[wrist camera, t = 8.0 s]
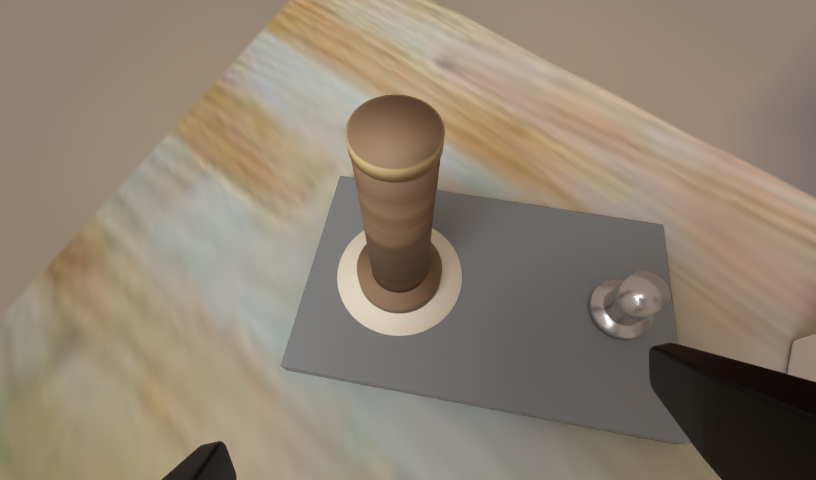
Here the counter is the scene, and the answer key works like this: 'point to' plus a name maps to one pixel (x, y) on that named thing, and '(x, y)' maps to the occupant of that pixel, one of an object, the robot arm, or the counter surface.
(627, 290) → the steel pin
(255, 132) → the counter surface
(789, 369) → the medicine bottle
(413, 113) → the walnut peg
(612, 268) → the board
